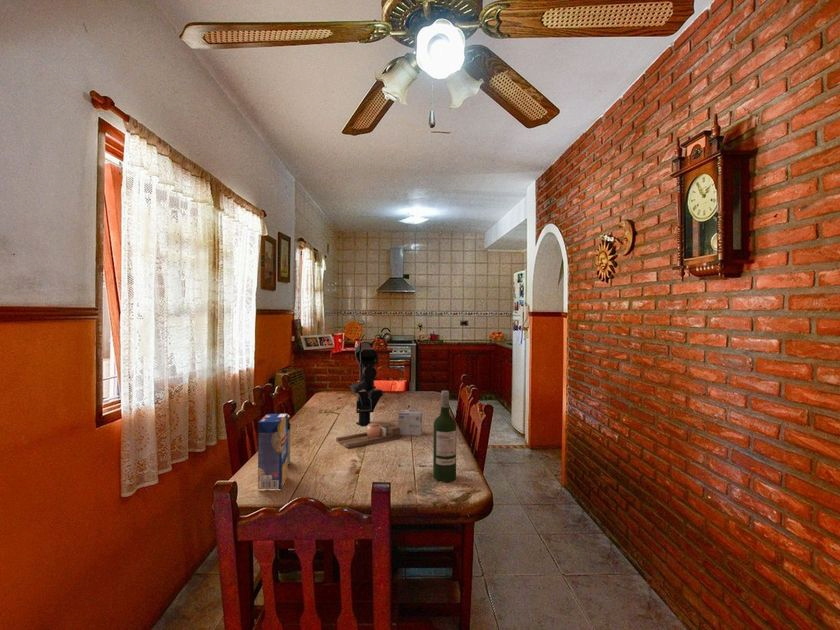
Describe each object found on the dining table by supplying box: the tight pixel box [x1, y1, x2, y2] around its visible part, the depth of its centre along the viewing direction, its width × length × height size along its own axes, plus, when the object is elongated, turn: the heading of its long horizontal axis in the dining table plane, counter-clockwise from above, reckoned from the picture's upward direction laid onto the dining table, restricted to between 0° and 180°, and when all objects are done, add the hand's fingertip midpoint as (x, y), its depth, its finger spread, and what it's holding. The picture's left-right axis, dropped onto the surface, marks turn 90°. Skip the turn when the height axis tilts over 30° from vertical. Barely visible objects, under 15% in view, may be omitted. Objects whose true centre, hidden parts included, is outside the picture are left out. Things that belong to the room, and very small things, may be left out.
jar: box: [366, 422, 381, 439], centre depth 190 cm, size 6×6×6 cm
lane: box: [335, 422, 401, 449], centre depth 188 cm, size 11×26×5 cm, turn 125°
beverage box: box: [257, 413, 289, 490], centre depth 139 cm, size 7×11×22 cm, turn 6°
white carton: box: [397, 408, 423, 437], centre depth 199 cm, size 11×7×11 cm, turn 84°
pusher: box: [381, 427, 386, 437], centre depth 192 cm, size 7×1×4 cm, turn 35°
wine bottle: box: [432, 390, 457, 483], centre depth 145 cm, size 8×8×30 cm
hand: (367, 408), depth 199 cm, fingers open, 9 cm apart
